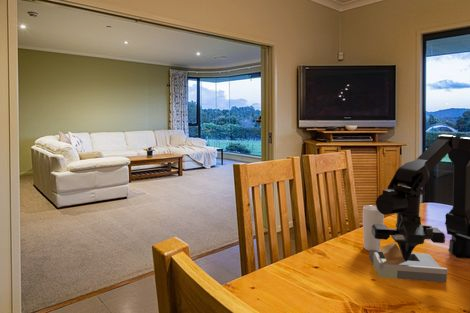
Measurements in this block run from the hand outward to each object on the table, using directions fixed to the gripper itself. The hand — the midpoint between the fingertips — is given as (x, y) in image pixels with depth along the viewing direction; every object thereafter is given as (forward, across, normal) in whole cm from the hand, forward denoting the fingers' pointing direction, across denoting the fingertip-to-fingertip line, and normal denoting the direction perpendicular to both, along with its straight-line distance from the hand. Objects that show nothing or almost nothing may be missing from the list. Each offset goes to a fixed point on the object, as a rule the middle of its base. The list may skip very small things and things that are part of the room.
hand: (405, 260), depth 100 cm
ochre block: (0, -2, 0) cm, 3 cm away
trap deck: (+4, +1, +3) cm, 5 cm away
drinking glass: (+4, -6, +17) cm, 19 cm away
